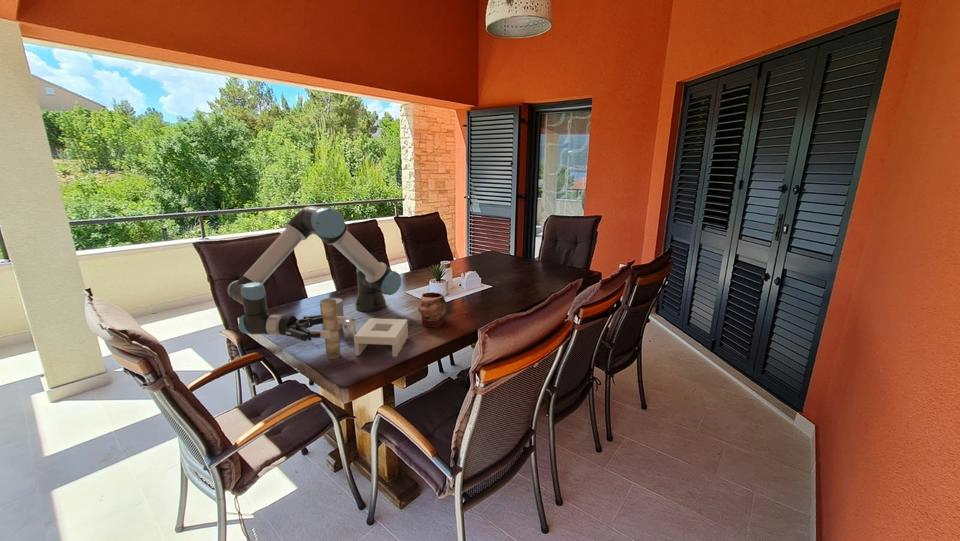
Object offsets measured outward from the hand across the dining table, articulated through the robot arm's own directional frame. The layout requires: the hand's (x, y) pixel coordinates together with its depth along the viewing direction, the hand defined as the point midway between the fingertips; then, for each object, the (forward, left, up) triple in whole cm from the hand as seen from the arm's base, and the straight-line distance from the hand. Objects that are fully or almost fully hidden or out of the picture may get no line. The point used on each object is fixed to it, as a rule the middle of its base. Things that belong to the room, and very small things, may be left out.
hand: (338, 327), depth 142 cm
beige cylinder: (-27, -15, -12) cm, 33 cm away
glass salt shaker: (-16, -3, -12) cm, 20 cm away
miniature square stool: (-10, +13, -12) cm, 20 cm away
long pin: (0, -3, -12) cm, 12 cm away
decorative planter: (-36, +29, -12) cm, 48 cm away
